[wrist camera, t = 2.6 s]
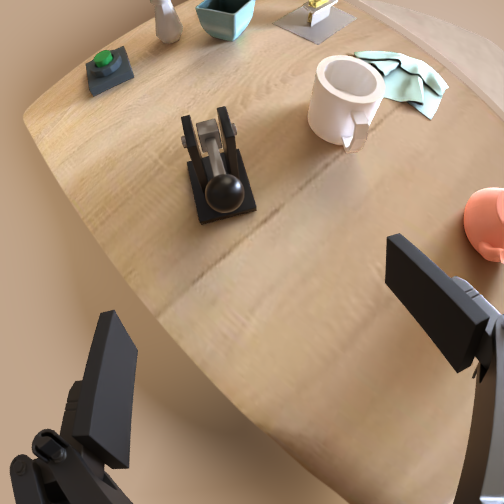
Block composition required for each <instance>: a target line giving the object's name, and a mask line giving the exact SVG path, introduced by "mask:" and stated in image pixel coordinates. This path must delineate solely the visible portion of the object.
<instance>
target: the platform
mask: <svg viewBox="0 0 504 504" xmlns="http://www.w3.org/2000/svg"><path fill="white" fill-rule="evenodd" d="M336 2H337V0H309V1H308V2H306V3H304V4H303V6H302V7H300V8H298V9H296V10H294V11H293V12H291V13H289V14H287V15H285V16H284V17H282V18H280V19H279V20H277V21H275V22H273V23H272V24H274V25H276V26H279V27H281V28H283V29H286V30H288V31H290V32H292V33H295V34H297V35H299V36H301V37H303V38H305V39H307V40H309V41H311V42H313V43H315V44H317V45H319V44H320V43H321V42H323V41H324V40H326V39H327V38H329V37H330V36H331V35H333V34H334V33H336V32H337V31H339V30H340V29H342V28H343V27H345V26H346V25H348V24H349V23H351V22H352V21H354V20H355V19H357V18H356V17H354V16H352V15H350V14H348V13H346V12H344V11H342V10H339V9H337V8H335V7H333V6H331V5H333V4H335V3H336Z"/></svg>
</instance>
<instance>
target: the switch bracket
mask: <svg viewBox="0 0 504 504" xmlns="http://www.w3.org/2000/svg"><path fill="white" fill-rule="evenodd" d="M217 113H218V119H219V125H220V131H221V137H222V143H223V149H224V152H223V153H220V156H221V159H222V162H223V166H224V169H225V172H226V174H230V175H233V176H235V177H236V178H238V179H239V180H240V182H241V183H242V185H243V187H244V199H243V202H242V204H241V205H240V206H239V207H238V208H237V209H236V210H234V211H232V212H229V213H221V212H217V211H215V210H214V209H212V208H211V207H210V206H209V204H208V203H207V201H206V197H205V190H206V186H207V184H208V183H209V181H210V180H211V179H212V178H213V177H214V175H213V171H212V167H211V163H210V159H209V156H207V157H203V158H202V156H201V152H200V149H199V145H198V142H197V139H196V135H195V132H194V128H193V125H192V121H191V117H190V115H187V116H183V117H181V120H182V125H183V130H184V135H185V136H181V140H182V144H183V147H184V148H187V149H188V152H189V155H190V158H191V160H192V161H189V162H187V166H188V171H189V176H190V180H191V185H192V190H193V194H194V199H195V203H196V208H197V212H198V217H199V221H200V224H201V225H203V224H207V223H210V222H214V221H218V220H222V219H225V218H229V217H233V216H237V215H241V214H245V213H249V212H253V211H256V204H255V200H254V197H253V194H252V190H251V187H250V184H249V180H248V177H247V174H246V171H245V167H244V164H243V161H242V157H241V154H240V151H239V149H236V143H235V135H237V130H236V126H235V124H234V123H232V124H231V122H230V119H229V116H228V112H227V109H226V107H225V106H224V107H219V108H217Z"/></svg>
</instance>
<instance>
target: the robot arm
mask: <svg viewBox="0 0 504 504" xmlns="http://www.w3.org/2000/svg"><path fill="white" fill-rule="evenodd" d="M385 283H386V285H387V286H388V287H389V288H390V289H391V290H392V292H393V293H394V294H395V295H396V296H397V298H398V299H399V300H400V301H401V302H402V304H403V305H404V306H405V307H406V308H407V310H408V311H409V312H410V313H411V315H412V316H413V317H414V318H415V319H416V321H417V322H418V323H419V324H420V326H421V327H422V328H423V329H424V331H425V332H426V333H427V334H428V336H429V337H430V338H431V340H432V341H433V342H434V343H435V345H436V346H437V347H438V349H439V350H440V351H441V353H442V354H443V355H444V356H445V358H446V359H447V360H448V362H449V363H450V364H451V366H452V367H453V368H454V370H455V371H456V372H457V373H459V372H461V371H463V370H464V369H466V368H468V367H469V366H471V364H472V362H473V359H474V357H476V358H477V359H478V360H479V363H478V365H477V367H476V369H475V371H474V373H473V376H472V378H475V376H476V374H477V377H476V389H475V399H474V407H473V415H472V422H471V428H470V434H469V440H468V445H467V450H466V455H465V460H464V464H463V469H462V473H461V477H460V481H459V485H458V489H457V492H456V496H455V499H454V502H453V504H504V314H503V315H501V314H500V313H499V312H498V311H497V310H496V309H495V308H494V307H493V306H492V305H491V304H490V303H489V302H488V301H487V300H486V299H485V298H484V297H483V296H482V295H480V294H479V292H478V291H476V290H475V289H474V288H473V287H472V286H471V285H470V284H469V283H468V282H467V281H466V280H464V279H461V278H459V277H457V276H454V277H452V278H450V277H449V276H448V275H447V274H446V273H444V272H443V271H442V270H441V269H440V268H439V267H438V266H437V265H436V264H435V263H434V262H432V261H431V260H430V259H429V258H428V257H427V256H426V255H425V254H423V253H422V252H421V251H420V250H419V249H418V248H417V247H415V246H414V245H413V244H412V243H411V242H410V241H408V240H407V239H406V238H405V237H404V236H402V235H401V234H400V233H398V234H395V235H392V236H388V237H387V247H386V274H385ZM137 354H138V350H137V348H136V346H135V345H134V343H133V342H132V340H131V338H130V336H129V335H128V333H127V331H126V330H125V328H124V326H123V324H122V323H121V321H120V319H119V317H118V316H117V314H116V312H115V310H111V311H107V312H103V313H100V316H99V320H98V323H97V327H96V330H95V334H94V337H93V341H92V345H91V348H90V352H89V356H88V360H87V364H86V368H85V372H84V376H83V380H82V381H75V383H74V384H73V386H72V387H71V389H70V391H69V394H68V398H67V404H66V407H65V410H66V411H65V412H64V416H63V421H62V426H61V431H60V435H58V434H57V433H56V432H55V431H54V430H51V429H44V430H42V431H40V432H39V433H38V434H37V435H36V436H35V438H34V440H33V442H32V452H33V453H34V455H36V456H37V457H38V458H37V459H34V460H32V459H31V458H29V457H28V456H27V455H23V454H22V455H18V456H17V457H15V458H14V459H13V461H12V463H11V465H10V476H11V481H12V487H13V492H14V497H15V501H16V504H133V503H132V502H131V501H130V500H129V498H128V497H127V496H126V495H125V494H124V493H123V492H122V490H121V489H120V488H119V487H118V486H117V484H116V483H115V482H114V481H113V480H112V478H111V477H110V476H109V475H108V474H107V473H106V472H105V471H104V465H105V464H106V465H108V466H109V467H110V468H112V469H127V468H129V455H130V434H131V433H130V432H131V417H132V403H133V392H134V381H135V371H136V362H137Z"/></svg>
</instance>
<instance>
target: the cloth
mask: <svg viewBox="0 0 504 504" xmlns="http://www.w3.org/2000/svg"><path fill="white" fill-rule="evenodd" d="M354 54H355V56H356V58H359V59H361V60H363V61H364V62H366V63H368V64H370V63H373V64H375V66H372V67H374V68H375V69H376V70H377V71H378V72H379V73H380V75H381V76H382V77H383V80H384V82H385V85H386V86H385V93H384V95H383V97H385V98H388V99H392V100H395V101H399V102H403V101H406V102H408V103H409V104H411V105H412V106H414V107H415V108H416V109H417V110H418V111H420V112H421V113H422V114H424V115H425V116H426V117H428V118H429V119H430V120H431V119H432V117H433V115H434V113H435V112H436V109H437V107H438V105H439V103H440V100H441V98H442V96H443V95H442V94H443V93H444V92H445V91H444V90H445V89H447V88H448V86H447V84H446V83H445V82H444V80H443V79H442V78H441V77H440V76H439V75H438V74H437V73H436V72H435V71H434V70H433V69H432V68H431V67H430V66H428V65H427V64H426V63H424V62H423V61H420V60H417V59H415V58H412V57H408V56H405V55H403V54H400V53H394V52H383V51H361V52H354Z"/></svg>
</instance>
